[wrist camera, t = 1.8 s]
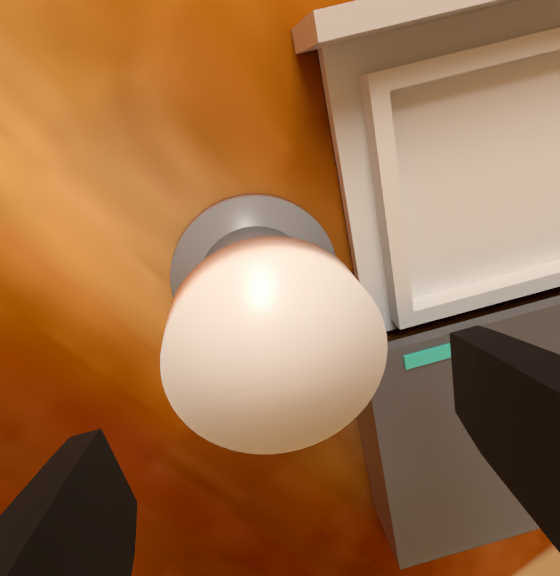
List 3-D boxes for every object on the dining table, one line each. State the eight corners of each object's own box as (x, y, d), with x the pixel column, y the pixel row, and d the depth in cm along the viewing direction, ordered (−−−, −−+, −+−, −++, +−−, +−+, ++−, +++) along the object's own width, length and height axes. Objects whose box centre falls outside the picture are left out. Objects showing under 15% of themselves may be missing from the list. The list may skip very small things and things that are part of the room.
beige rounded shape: (350, 212, 12) (371, 228, 10) (378, 387, 14) (398, 421, 12) (136, 267, 11) (125, 292, 10) (200, 437, 14) (199, 478, 12)
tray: (672, -61, 14) (791, -103, 11) (636, 255, 19) (714, 284, 16) (291, 29, 14) (313, 10, 11) (346, 333, 18) (372, 378, 15)
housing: (643, 232, 18) (732, 259, 15) (619, 435, 23) (684, 488, 20) (338, 313, 18) (365, 359, 15) (374, 506, 22) (401, 572, 19)
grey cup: (317, 174, 16) (357, 202, 11) (344, 323, 18) (385, 391, 14) (148, 217, 15) (125, 262, 11) (198, 362, 18) (195, 443, 14)
